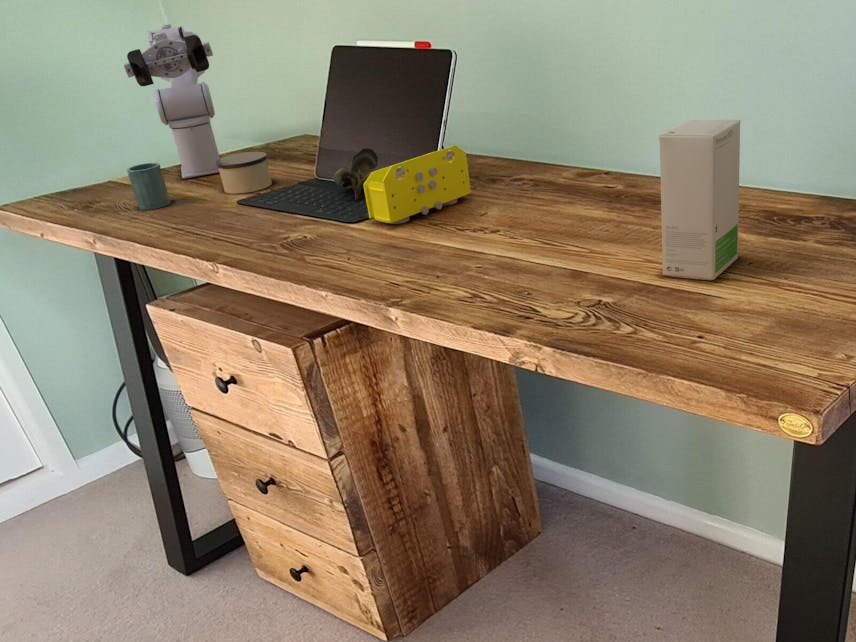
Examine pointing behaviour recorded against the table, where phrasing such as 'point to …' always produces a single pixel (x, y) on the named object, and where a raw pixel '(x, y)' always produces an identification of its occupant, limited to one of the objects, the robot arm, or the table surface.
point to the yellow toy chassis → (417, 185)
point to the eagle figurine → (357, 171)
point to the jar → (244, 172)
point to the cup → (149, 186)
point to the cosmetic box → (700, 197)
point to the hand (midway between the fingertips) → (168, 67)
